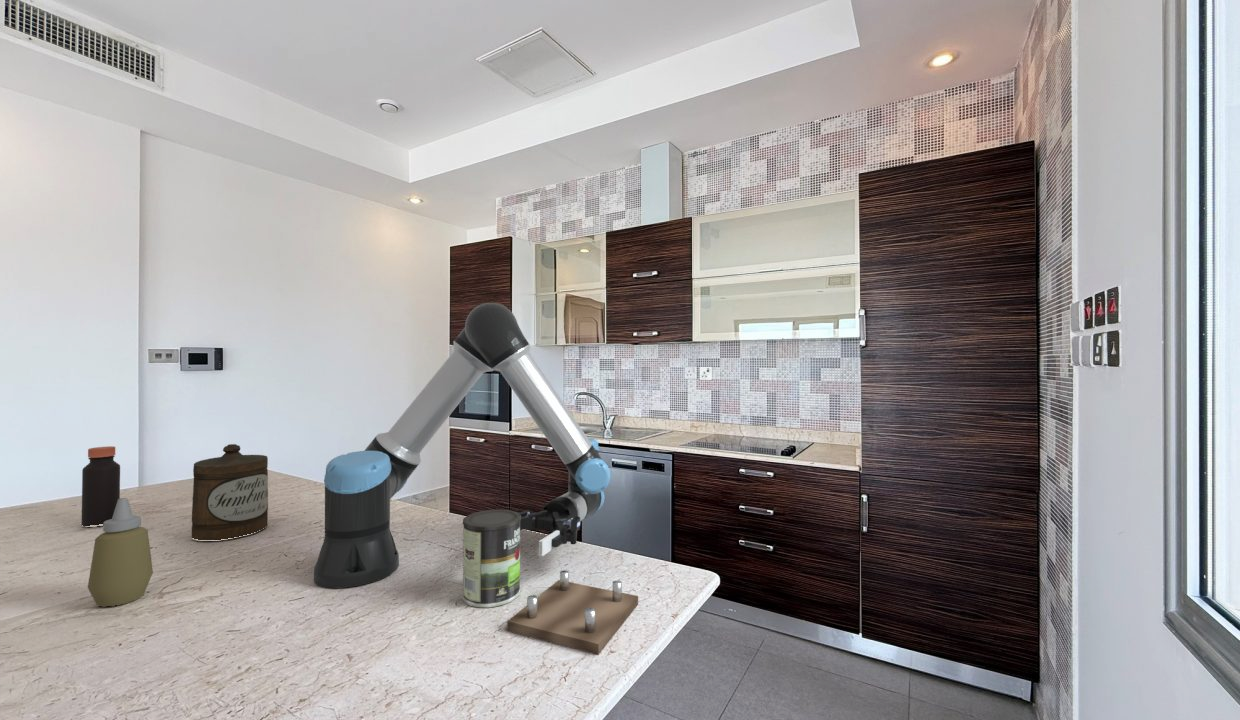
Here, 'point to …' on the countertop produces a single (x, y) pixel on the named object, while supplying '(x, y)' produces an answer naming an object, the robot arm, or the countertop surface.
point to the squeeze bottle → (120, 559)
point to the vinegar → (100, 486)
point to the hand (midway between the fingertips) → (509, 543)
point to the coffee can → (491, 558)
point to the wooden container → (229, 495)
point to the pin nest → (574, 614)
